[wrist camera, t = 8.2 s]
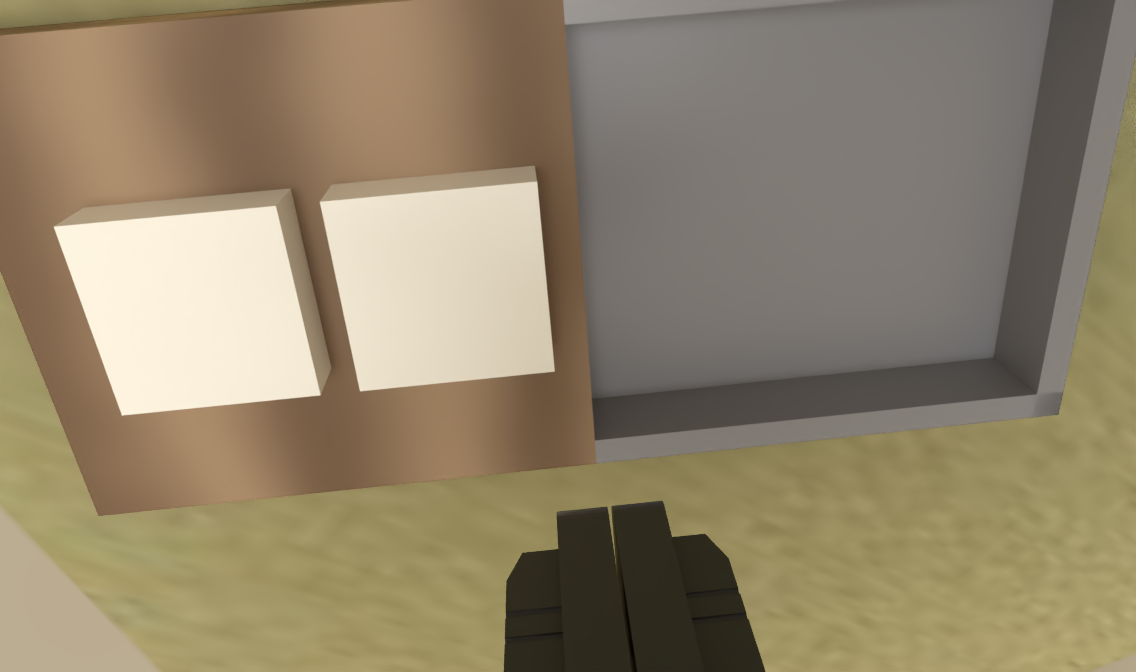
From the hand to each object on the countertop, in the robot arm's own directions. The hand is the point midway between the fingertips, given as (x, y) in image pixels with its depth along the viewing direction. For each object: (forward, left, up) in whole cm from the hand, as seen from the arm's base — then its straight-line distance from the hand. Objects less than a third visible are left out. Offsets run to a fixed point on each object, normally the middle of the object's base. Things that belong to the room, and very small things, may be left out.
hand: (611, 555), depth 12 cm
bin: (-8, 0, -14) cm, 16 cm away
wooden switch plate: (+7, 0, -14) cm, 16 cm away
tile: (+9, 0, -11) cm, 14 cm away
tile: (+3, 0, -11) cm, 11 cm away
